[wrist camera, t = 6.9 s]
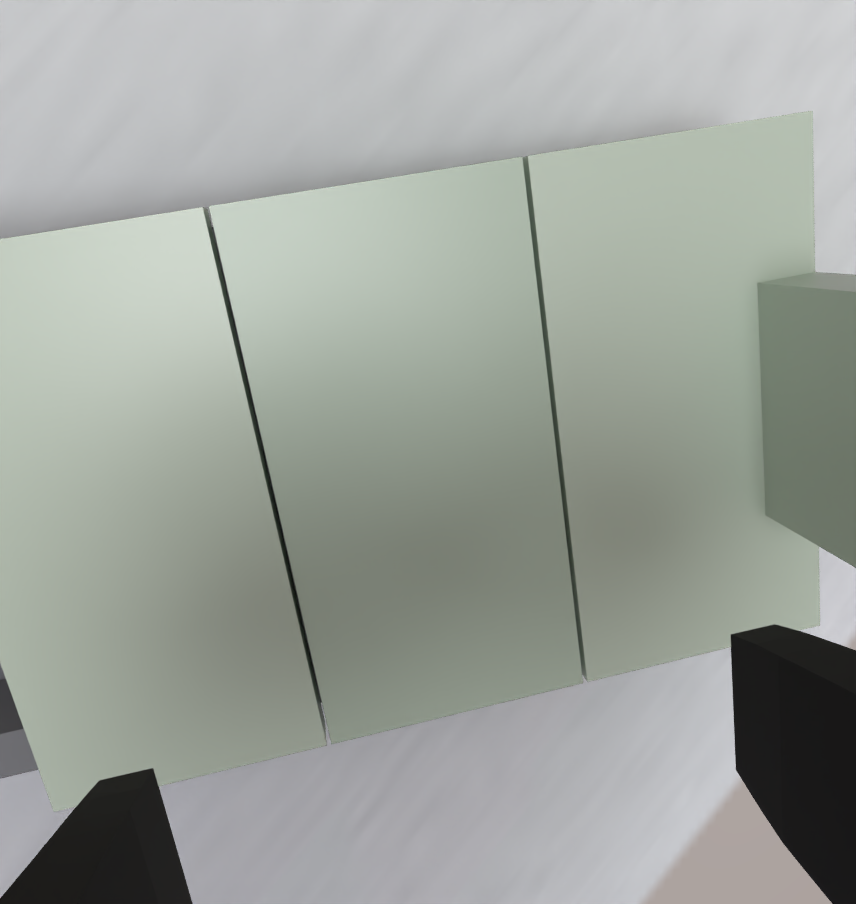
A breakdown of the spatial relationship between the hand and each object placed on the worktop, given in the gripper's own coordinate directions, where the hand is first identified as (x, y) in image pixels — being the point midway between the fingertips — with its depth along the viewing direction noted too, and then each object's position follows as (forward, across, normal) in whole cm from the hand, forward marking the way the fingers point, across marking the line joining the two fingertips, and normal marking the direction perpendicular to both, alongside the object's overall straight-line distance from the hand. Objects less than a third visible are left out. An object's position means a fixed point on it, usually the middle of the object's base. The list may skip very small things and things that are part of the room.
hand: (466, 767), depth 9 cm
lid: (+7, -1, -2) cm, 7 cm away
